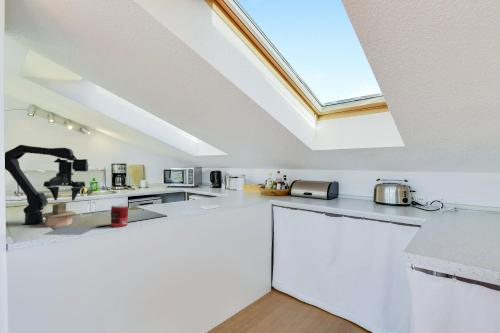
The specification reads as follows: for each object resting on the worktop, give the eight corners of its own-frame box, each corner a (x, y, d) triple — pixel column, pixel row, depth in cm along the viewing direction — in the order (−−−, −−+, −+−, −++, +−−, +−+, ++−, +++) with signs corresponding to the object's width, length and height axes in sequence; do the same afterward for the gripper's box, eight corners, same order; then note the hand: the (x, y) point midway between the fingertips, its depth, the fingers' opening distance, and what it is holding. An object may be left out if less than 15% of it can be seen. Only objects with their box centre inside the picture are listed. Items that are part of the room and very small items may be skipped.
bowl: (40, 227, 127) (41, 217, 127) (55, 222, 137) (55, 213, 137) (62, 227, 128) (63, 217, 128) (75, 222, 138) (76, 213, 138)
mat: (42, 235, 113) (42, 234, 113) (66, 226, 129) (66, 225, 129) (80, 235, 114) (80, 234, 114) (99, 227, 130) (99, 226, 130)
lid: (34, 217, 125) (34, 205, 125) (54, 212, 139) (54, 201, 139) (64, 218, 126) (64, 206, 126) (81, 212, 140) (81, 202, 140)
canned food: (128, 224, 138) (128, 203, 138) (126, 227, 130) (127, 205, 130) (112, 225, 135) (112, 204, 135) (109, 228, 127) (110, 206, 128)
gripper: (35, 171, 130) (34, 201, 130) (72, 171, 130) (71, 202, 130) (51, 170, 141) (51, 199, 141) (86, 171, 142) (85, 199, 142)
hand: (64, 200), depth 138 cm, fingers open, 9 cm apart
